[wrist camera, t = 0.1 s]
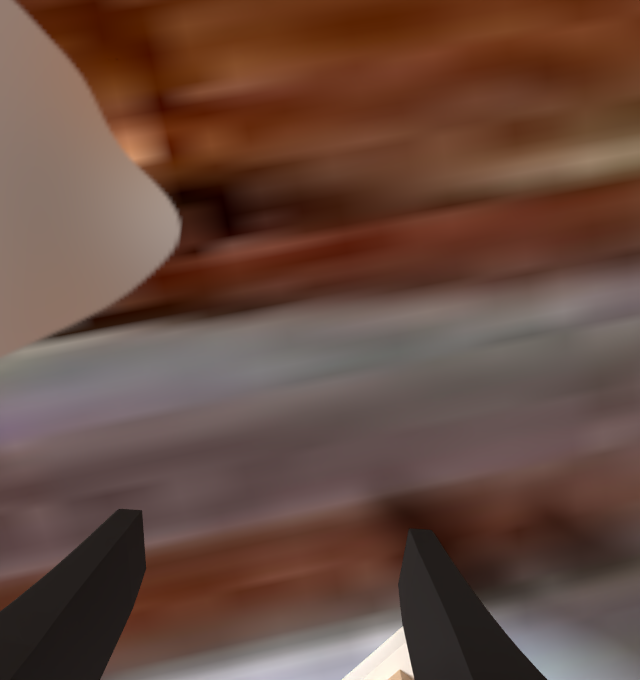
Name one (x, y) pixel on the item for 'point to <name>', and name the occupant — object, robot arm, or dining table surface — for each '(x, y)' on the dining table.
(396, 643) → the pipe stand
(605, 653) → the dining table surface
